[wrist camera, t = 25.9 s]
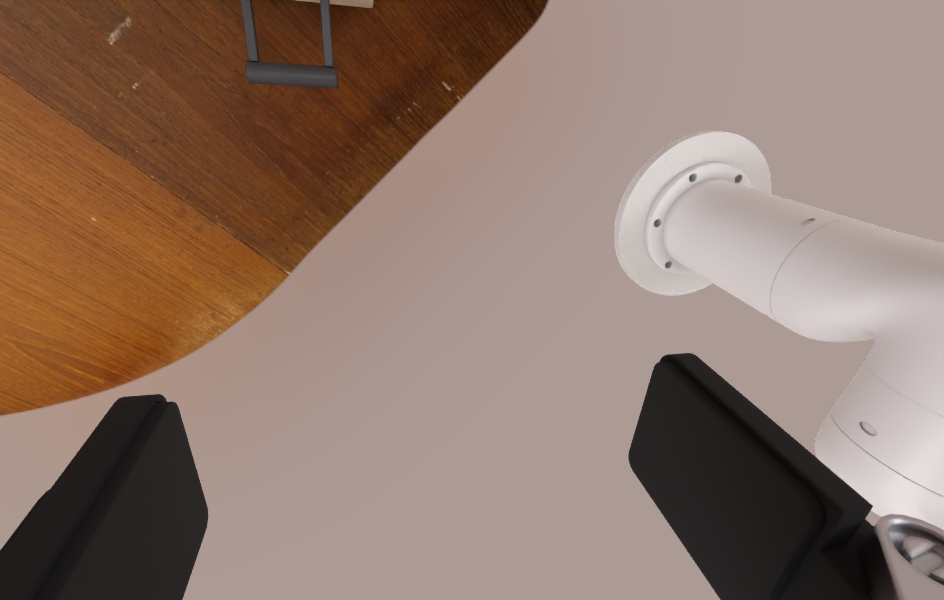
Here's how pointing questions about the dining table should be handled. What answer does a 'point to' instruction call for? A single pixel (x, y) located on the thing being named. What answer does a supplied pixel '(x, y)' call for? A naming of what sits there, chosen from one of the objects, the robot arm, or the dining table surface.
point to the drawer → (294, 72)
